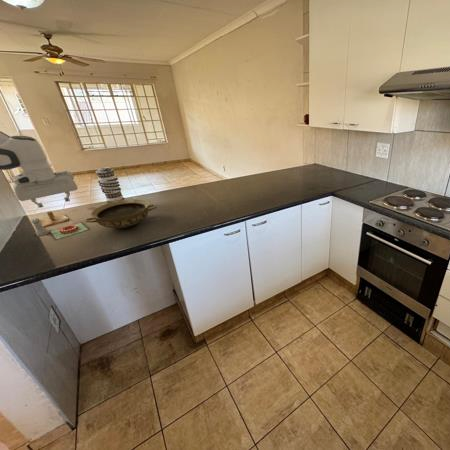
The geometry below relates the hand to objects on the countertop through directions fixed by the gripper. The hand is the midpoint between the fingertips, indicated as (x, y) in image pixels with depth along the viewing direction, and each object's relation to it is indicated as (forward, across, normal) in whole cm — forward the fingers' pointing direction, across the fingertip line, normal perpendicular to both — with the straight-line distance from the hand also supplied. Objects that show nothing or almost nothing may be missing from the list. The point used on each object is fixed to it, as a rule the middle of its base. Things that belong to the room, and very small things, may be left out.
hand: (54, 204), depth 114 cm
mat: (+15, 0, 0) cm, 15 cm away
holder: (+15, +2, -20) cm, 25 cm away
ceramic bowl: (+14, -21, +16) cm, 30 cm away
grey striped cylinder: (+15, -26, -9) cm, 31 cm away
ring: (+13, -1, 0) cm, 13 cm away
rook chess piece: (+15, +8, -6) cm, 18 cm away
